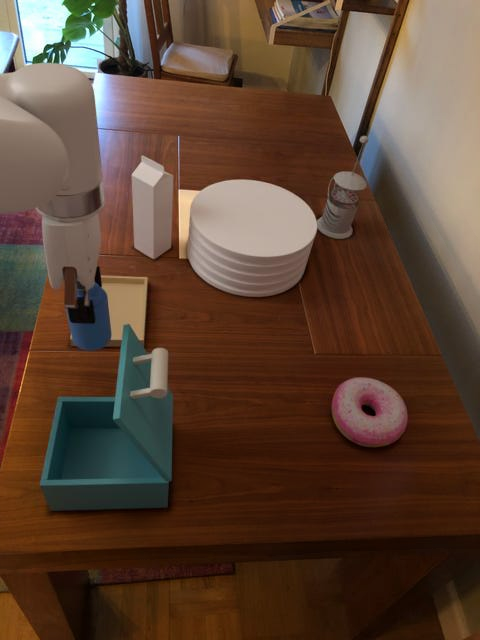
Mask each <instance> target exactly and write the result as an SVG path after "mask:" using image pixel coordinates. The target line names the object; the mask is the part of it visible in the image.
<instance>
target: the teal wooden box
mask: <svg viewBox="0 0 480 640" xmlns="http://www.w3.org/2000/svg"><path fill="white" fill-rule="evenodd" d="M114 405H115V396H57V401H56V405H55V409H54V415H53V419H52V425H51V430H50V434H49V438H48V443H47V449H46V452H45V458H44V463H43V468H42V473H41V477H40V478H41V479H40V483H39V487H40V489H41V492H42V494H43V496H44V499H45V501H46V503H47V506H48V508H49V510H50V512H57V511H58V512H59V511H89V510H90V511H91V510H92V511H93V510H123V509H124V510H129V509H157V508H158V509H159V508H160V509H161V508H168V504H169V488H170V487H169V486H170V485H169V484H170V481H168V482H166V481H165V480H164V479H163V478H162V476H161V475H160V474H159V473H158V472H157V471H156V469H155V468H154V467H153V466H152V465H151V464H150V462H149V461H148V460H147V459H146V458H145V457H144V455H143V454H142V453H141V452H140V451H139V450H138V448H137V447H136V446H135V445H134V444H133V442H132V441H131V440H130V439H129V438H128V437H127V435H126V434H125V433H124V432H123V431H122V430H121V428H120V427H119V426H118V425H117V424H116V423H115V421H114V420H113V413H114Z"/></svg>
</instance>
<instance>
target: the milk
mask: <svg viewBox="0 0 480 640" xmlns="http://www.w3.org/2000/svg"><path fill="white" fill-rule="evenodd" d="M140 157H141V161H140V163H139V164H138V166H137V167H136V168H135V170H134V171H133V172H132V173H131V194H132V195H131V197H132V221H133V222H132V223H133V246H134V249H136V250H137V251H138V252H140V253H142V254H144V255H145V256H146V257H149V258H150V259H152V260H156V259H157V258H159V257H160V256H161V255H163V254H164V253H166V252H167V251H169V250H170V249H171V248H172V234H173V233H172V230H173V202H174V201H173V200H174V175H173V174H171V173H169V172H167V171H165V167H164V165H162V164H161V163H158V162H156V161H155V160H153V159H150V158H148V157H147V156H145V155H143V154H142V155H141V156H140Z"/></svg>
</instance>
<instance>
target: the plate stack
mask: <svg viewBox="0 0 480 640" xmlns="http://www.w3.org/2000/svg"><path fill="white" fill-rule="evenodd" d="M188 221H189V222H188V224H189V225H188V237H187V239H188V240H187V258H188V261H189V264H190V265H191V268H192V269H193V270H194V272H195V273H196V274H197V275H198V276H199V277H200V278H201V279H202V280H203V281H204V282H206V283H207V284H209V285H210V286H213V287H214V288H216V289H218V290H221V291H223V292H225V293H228V294H232V295H236V296H241V297H248V298H263V297H270V296H275V295H278V294H282V293H284V292H286V291H289V290H290V289H292V288H293V287H295V285H297V284H298V283H299V282H300V280H301V279H302V277H303V275H304V273H305V270H306V266H307V264H308V260H309V258H310V254H311V251H312V248H313V244H314V241H315V238H316V234H317V232H318V228H317V218H316V215H315V213H314V211H313V210H312V208H311V207H310V206H309V205H308V204H307V203H306V202H305V200H303V199H302V198H300V196H298V195H296V194H294V193H293V192H292V191H290V190H287V189H286V188H283V187H281V186H278V185H276V184H272V183H270V182H269V183H268V182H265V181H260V180H253V179H229V180H223V181H219V182H215V183H213V184H209V185H208V186H206V187H204V188H202V189H201V190H200V191H199V192H197V194H196V195H195V196H194V198H193V199H192V201H191V204H190V208H189V220H188Z"/></svg>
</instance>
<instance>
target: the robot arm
mask: <svg viewBox="0 0 480 640" xmlns="http://www.w3.org/2000/svg"><path fill="white" fill-rule="evenodd" d="M100 146H101V145H100V135H99V125H98V116H97V105H96V96H95V89H94V86H93V84H92V81H91V80H90V79H89V77H88V76H87V75H86V73H84V72H82V71H81V70H80V69H78V68H76V67H73V66H71V65H67V64H63V63H56V62H39V63H38V62H37V63H31V64H26V65H24V66H22V67H20V68H18V69H17V70H15V71H13V72H5V73H0V215H5V214H7V215H8V214H15V213H23V212H27V211H31V210H36V211H37V213H38V214H39V215H41V233H42V243H43V244H42V245H43V251H44V259H45V265H46V271H47V275H48V276H47V277H48V282H49V285H50V287H51V289H52V290H56V291H57V290H61V288H62V286H63V285H64V286H63V287H64V290H63V307H64V309H66V308H67V309H68V314H69V319H70V322H71V323H82V324H83V323H84V324H94V323H95V320H96V319H95V312H94V305H93V300H90V288H91V287H92V286H93V282H94V280H95V283H97V284H98V285H99V287H101V288H102V282H101V267H100V266H99V258H100V252H101V246H102V232H101V230H102V229H101V221H100V212H101V211H103V209H104V207H105V205H106V198H105V187H104V177H103V176H104V175H103V169H102V158H101V147H100ZM77 278H78V280H79V281H77ZM77 289H83V292H84V297H77Z"/></svg>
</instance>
